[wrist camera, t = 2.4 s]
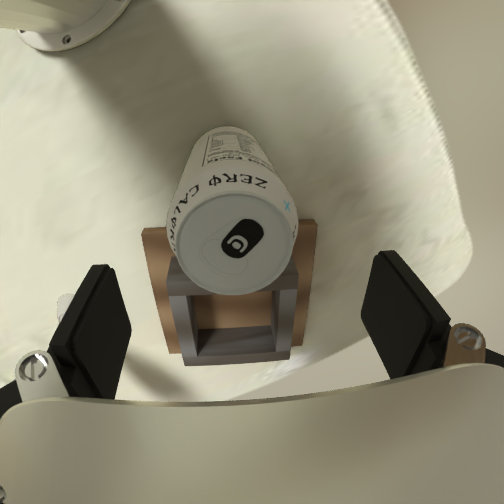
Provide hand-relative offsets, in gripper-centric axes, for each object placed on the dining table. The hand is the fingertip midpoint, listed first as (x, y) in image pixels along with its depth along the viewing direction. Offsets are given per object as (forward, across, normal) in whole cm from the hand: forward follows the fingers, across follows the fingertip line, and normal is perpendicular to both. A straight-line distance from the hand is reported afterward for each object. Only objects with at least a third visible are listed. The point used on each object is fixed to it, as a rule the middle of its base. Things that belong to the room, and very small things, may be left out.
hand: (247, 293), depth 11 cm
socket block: (+18, 0, +13) cm, 22 cm away
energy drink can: (+18, 0, -1) cm, 18 cm away
